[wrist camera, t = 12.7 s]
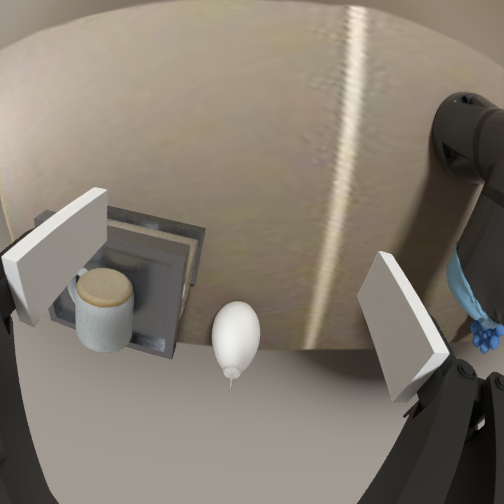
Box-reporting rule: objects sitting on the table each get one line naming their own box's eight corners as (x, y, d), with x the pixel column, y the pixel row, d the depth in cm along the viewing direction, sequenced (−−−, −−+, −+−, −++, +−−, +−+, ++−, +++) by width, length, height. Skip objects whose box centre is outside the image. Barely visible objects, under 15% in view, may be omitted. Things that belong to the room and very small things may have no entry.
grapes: (472, 328, 57) (493, 362, 46) (456, 326, 56) (478, 362, 46) (498, 291, 51) (523, 323, 41) (483, 286, 51) (510, 320, 40)
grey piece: (210, 206, 45) (187, 258, 31) (192, 295, 53) (174, 359, 40) (88, 180, 43) (32, 218, 29) (89, 268, 51) (49, 319, 38)
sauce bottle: (212, 293, 53) (194, 374, 37) (255, 287, 52) (252, 370, 36) (223, 325, 56) (212, 404, 41) (263, 320, 55) (263, 401, 40)
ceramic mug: (143, 273, 34) (119, 315, 27) (139, 321, 38) (120, 363, 31) (70, 249, 33) (37, 283, 26) (74, 297, 37) (48, 333, 30)
